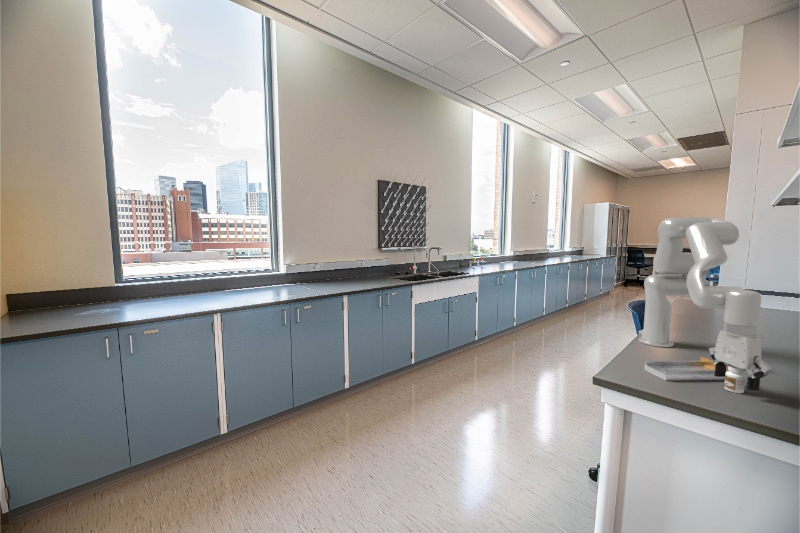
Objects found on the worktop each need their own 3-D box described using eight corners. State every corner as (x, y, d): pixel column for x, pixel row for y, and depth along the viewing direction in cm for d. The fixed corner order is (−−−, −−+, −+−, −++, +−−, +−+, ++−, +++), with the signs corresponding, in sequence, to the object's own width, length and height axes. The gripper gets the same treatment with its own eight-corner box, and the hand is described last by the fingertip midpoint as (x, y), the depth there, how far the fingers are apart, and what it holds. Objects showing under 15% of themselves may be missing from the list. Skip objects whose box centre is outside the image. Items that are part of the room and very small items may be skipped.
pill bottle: (720, 387, 105) (722, 363, 104) (735, 387, 105) (737, 364, 104) (732, 393, 101) (734, 369, 100) (748, 394, 100) (750, 369, 100)
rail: (644, 369, 119) (645, 357, 118) (702, 369, 119) (703, 357, 119) (665, 380, 110) (666, 367, 109) (727, 379, 111) (729, 366, 110)
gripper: (701, 322, 110) (698, 371, 111) (760, 338, 92) (754, 396, 94) (723, 322, 110) (719, 371, 111) (785, 337, 93) (779, 395, 94)
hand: (735, 382), depth 102 cm, fingers open, 9 cm apart
